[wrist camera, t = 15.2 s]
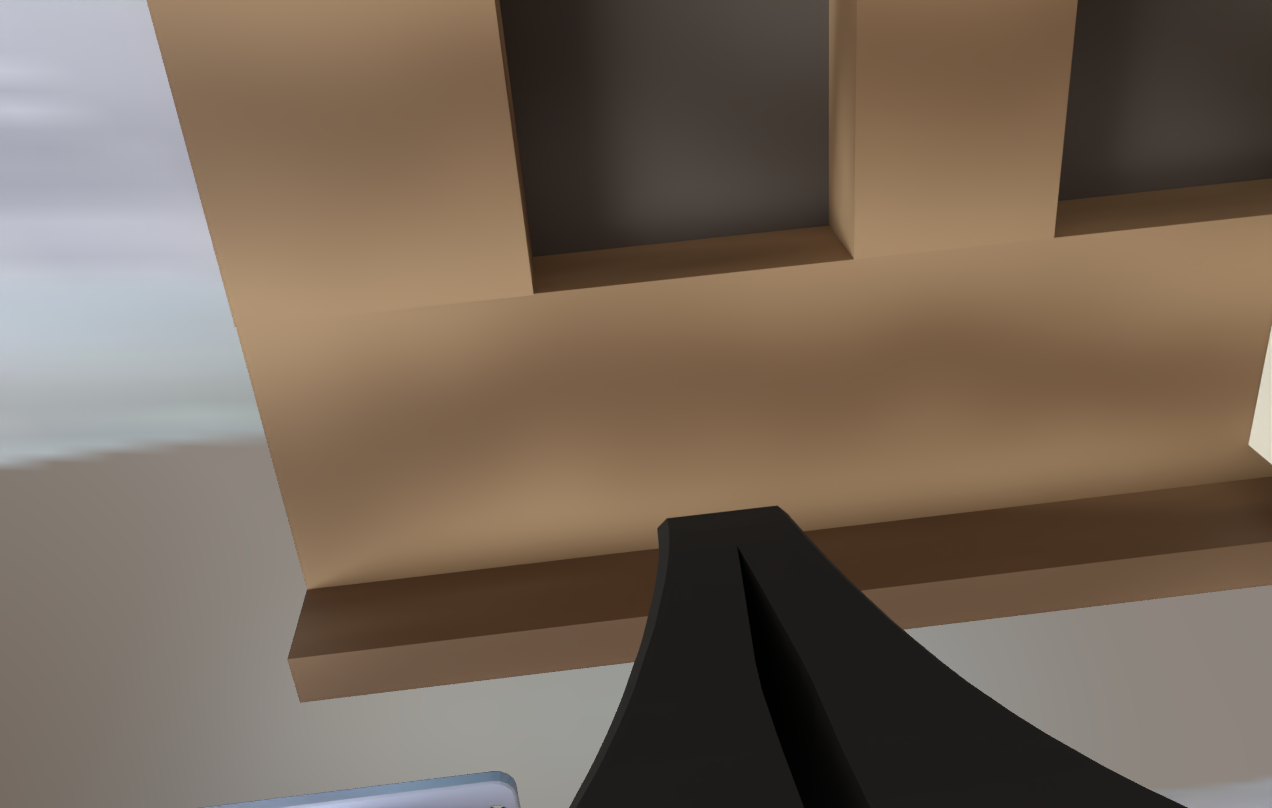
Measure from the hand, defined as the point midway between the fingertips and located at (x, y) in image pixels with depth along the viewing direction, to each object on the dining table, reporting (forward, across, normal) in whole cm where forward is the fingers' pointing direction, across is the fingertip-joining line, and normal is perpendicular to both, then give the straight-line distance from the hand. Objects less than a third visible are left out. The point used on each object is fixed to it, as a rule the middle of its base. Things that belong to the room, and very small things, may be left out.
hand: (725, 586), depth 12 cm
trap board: (+10, -6, 0) cm, 11 cm away
